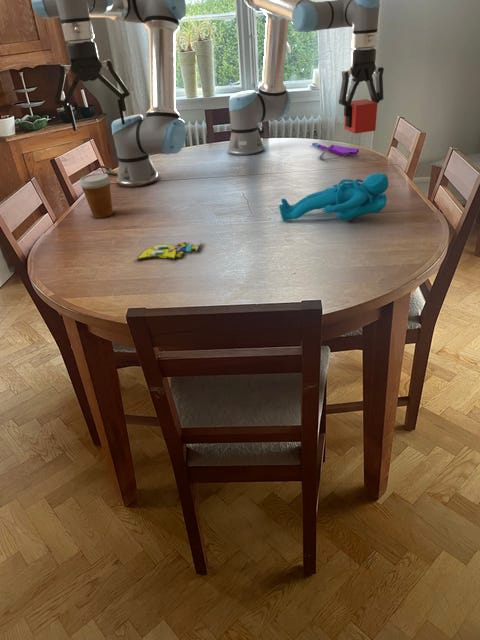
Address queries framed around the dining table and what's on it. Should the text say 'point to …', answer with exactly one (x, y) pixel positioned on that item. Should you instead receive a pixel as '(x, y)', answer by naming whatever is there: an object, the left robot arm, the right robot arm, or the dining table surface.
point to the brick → (362, 116)
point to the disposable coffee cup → (98, 194)
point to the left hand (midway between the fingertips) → (99, 127)
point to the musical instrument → (337, 150)
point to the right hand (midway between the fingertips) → (359, 125)
